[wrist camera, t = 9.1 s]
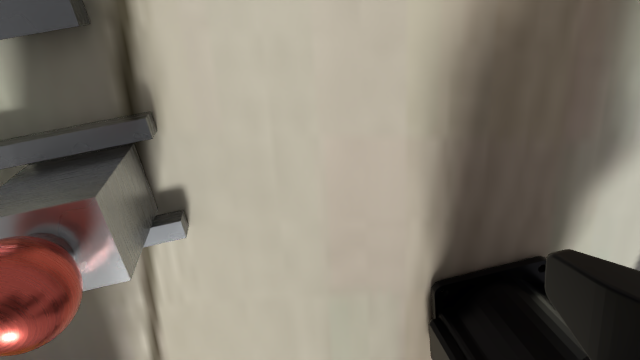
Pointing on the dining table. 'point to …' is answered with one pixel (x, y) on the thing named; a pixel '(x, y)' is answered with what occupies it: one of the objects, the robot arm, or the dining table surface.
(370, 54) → the dining table surface
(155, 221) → the ram track
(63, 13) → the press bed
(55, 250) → the handle
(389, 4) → the dining table surface
